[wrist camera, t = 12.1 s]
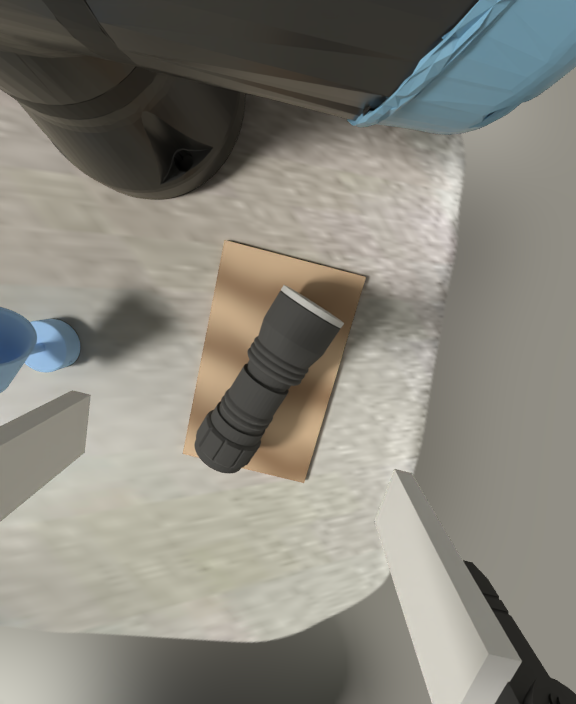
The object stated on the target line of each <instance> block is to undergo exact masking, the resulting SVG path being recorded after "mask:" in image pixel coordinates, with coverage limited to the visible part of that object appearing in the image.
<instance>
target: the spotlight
mask: <svg viewBox="0 0 576 704" xmlns="http://www.w3.org/2000/svg"><path fill="white" fill-rule="evenodd" d="M79 354H80V341H79V338H78V335H77V334H76V332H75V331H74V329H73V328H72V327H71V326H70V325H68V324H67V323H65V322H63V321H61V320H57V319H45V320H39V321H32V322H29V321H28V320H27V319H26V318H24V317H23V316H21V315H20V314H18V313H16V312H14V311H11V310H9V309H6V308H2V307H0V393H1V392H3V391H4V390H5V389H6V388H7V387H8V386H9V384H10V383H11V381H12V380H13V378H14V377H15V376H16V374H17V373H18V371H19V370H20V368H21V367H22V365H23V364H24V363H25V364H26V365H27V366H29V367H30V368H32V369H34V370H36V371H40V372H53V371H56V370H58V369H61V368H64V367H67V366H69V365H71V364H73V363H74V362H75V361H76V360H77V358H78V356H79Z"/></svg>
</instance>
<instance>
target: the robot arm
mask: <svg viewBox="0 0 576 704" xmlns="http://www.w3.org/2000/svg"><path fill="white" fill-rule="evenodd" d="M575 67H576V0H0V89H1V90H2V91H4V92H5V93H7V94H8V95H10V96H11V97H13V98H14V99H16V100H17V101H18V102H19V104H20V105H21V106H22V107H23V108H24V110H25V111H26V112H27V113H28V114H29V116H30V117H31V118H32V119H33V120H34V122H35V123H36V124H37V125H38V126H39V127H40V129H41V130H42V131H43V132H44V133H45V134H46V135H47V136H48V138H49V139H50V140H51V141H52V143H53V144H54V145H55V147H56V148H57V149H58V150H59V151H60V152H61V153H62V154H63V155H64V156H65V157H66V158H67V159H68V160H69V161H70V162H71V163H72V164H73V165H74V166H76V167H77V168H78V169H79V170H81V171H82V172H83V173H85V174H86V175H88V176H89V177H91V178H93V179H94V180H96V181H98V182H100V183H102V184H104V185H106V186H108V187H109V188H111V189H113V190H116V191H118V192H120V193H123V194H125V195H129V196H132V197H136V198H142V199H167V198H172V197H176V196H180V195H182V194H185V193H187V192H190V191H192V190H194V189H195V188H197V187H199V186H200V185H202V184H203V183H205V182H206V181H207V180H208V179H210V178H211V177H212V176H213V175H214V174H215V173H216V172H217V171H218V169H219V168H220V167H221V166H222V165H223V163H224V162H225V160H226V159H227V157H228V156H229V154H230V152H231V151H232V149H233V147H234V144H235V142H236V140H237V137H238V135H239V132H240V128H241V125H242V120H243V115H244V109H245V93H247V94H252V95H256V96H260V97H265V98H269V99H272V100H276V101H280V102H284V103H288V104H292V105H296V106H300V107H304V108H308V109H311V110H315V111H319V112H323V113H327V114H331V115H335V116H339V117H343V118H347V121H348V122H350V123H351V124H352V125H354V126H357V127H367V126H371V125H375V124H379V125H386V126H393V127H400V128H407V129H413V130H418V131H423V132H429V133H434V134H445V135H451V134H461V133H465V132H469V131H473V130H476V129H479V128H482V127H484V126H486V125H488V124H490V123H492V122H494V121H496V120H497V119H500V118H501V117H503V116H505V115H507V114H508V113H510V112H511V111H512V110H514V109H515V108H516V107H517V106H519V105H520V104H521V103H522V102H526V101H529V100H531V99H533V98H535V97H537V96H538V95H540V94H541V93H542V92H544V91H545V90H547V89H548V88H549V87H551V86H552V85H553V84H554V83H556V82H557V81H558V80H560V79H561V78H562V77H563V76H565V75H566V74H567V73H568V72H570V71H571V70H572V69H574V68H575ZM90 396H91V395H89V394H85V393H81V392H76V391H70V392H68V393H66V394H64V395H62V396H60V397H58V398H56V399H54V400H52V401H50V402H48V403H46V404H44V405H42V406H40V407H38V408H36V409H34V410H32V411H30V412H28V413H26V414H24V415H22V416H20V417H18V418H16V419H14V420H12V421H10V422H8V423H6V424H4V425H2V426H0V521H2V520H3V519H4V518H5V517H6V516H8V515H9V514H10V513H11V512H13V511H14V510H15V509H16V508H17V507H19V506H20V505H21V504H22V503H24V502H25V501H26V500H27V499H28V498H30V497H31V496H32V495H33V494H35V493H36V492H37V491H38V490H39V489H41V488H42V487H43V486H44V485H46V484H47V483H48V482H49V481H50V480H52V479H53V478H54V477H55V476H57V475H58V474H59V473H60V472H61V471H63V470H64V469H65V468H66V467H67V466H69V465H70V464H71V463H72V462H74V461H75V460H76V459H77V458H78V457H80V456H81V455H82V454H83V453H85V444H86V434H87V424H88V415H89V405H90ZM374 522H375V525H376V528H377V531H378V534H379V537H380V541H381V544H382V547H383V550H384V553H385V556H386V560H387V563H388V566H389V569H390V572H391V575H392V578H393V582H394V585H395V588H396V591H397V594H398V597H399V601H400V603H401V607H402V610H403V613H404V616H405V619H406V623H407V626H408V629H409V632H410V635H411V638H412V642H413V645H414V648H415V651H416V654H417V657H418V660H419V664H420V667H421V670H422V673H423V676H424V679H425V683H426V686H427V689H428V692H429V695H430V698H431V701H432V704H576V694H575V693H574V692H573V691H571V690H570V689H569V688H568V687H566V686H565V685H563V684H561V683H560V682H558V681H557V680H555V679H552V678H550V677H549V675H548V673H547V672H546V670H545V669H544V667H543V666H542V664H541V662H540V661H539V659H538V658H537V656H536V654H535V653H534V651H533V650H532V648H531V647H530V645H529V643H528V642H527V640H526V639H525V637H524V636H523V634H522V633H521V631H520V629H519V628H518V626H517V625H516V623H515V621H514V620H513V618H512V617H511V616H510V615H509V614H508V610H507V609H506V607H505V606H504V604H503V602H502V601H501V600H499V596H498V595H497V593H496V591H495V590H494V588H493V587H492V585H491V583H490V582H489V580H488V579H487V578H486V577H485V576H484V575H483V573H482V572H481V571H480V570H479V569H478V568H477V567H476V566H475V565H474V564H473V563H472V562H468V561H464V560H462V558H461V556H460V555H459V553H458V551H457V550H456V548H455V546H454V544H453V543H452V542H451V539H450V538H449V536H448V534H447V533H446V531H445V529H444V528H443V526H442V524H441V522H440V521H439V519H438V517H437V515H436V514H435V512H434V510H433V509H432V507H431V505H430V504H429V502H428V500H427V498H426V497H425V495H424V493H423V492H422V490H421V488H420V487H419V485H418V483H417V481H416V480H415V478H414V476H413V475H412V473H409V472H405V471H401V470H397V469H394V472H393V474H392V477H391V479H390V482H389V485H388V487H387V490H386V492H385V495H384V498H383V500H382V503H381V506H380V508H379V511H378V513H377V516H376V519H375V521H374Z"/></svg>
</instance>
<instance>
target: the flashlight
mask: <svg viewBox="0 0 576 704" xmlns="http://www.w3.org/2000/svg"><path fill="white" fill-rule="evenodd" d="M343 325H344V323H343V322H342V321H341V320H340V319H338V318H337V317H335V316H334V315H332V314H331V313H329V312H328V311H326V310H325V309H323V308H322V307H320V306H319V305H317V304H316V303H314V302H312V301H311V300H309V299H308V298H306V297H305V296H303V295H301V294H300V293H298V292H296V291H295V290H293V289H291V288H290V287H288V286H286V285H283V287H282V288H281V291H280V292H279V293H278V295H277V297H276V298H275V300H274V302H273V303H272V305H271V307H270V308H269V310H268V312H267V313H266V315H265V317H264V319H263V322H262V325H261V329H260V332H259V335H258V336H257V337H256V338H255V339H254V342H253V343H252V344H251V347H250V348H249V349H248V351H247V353H248V357H249V361H248V364H245V365H244V366H243V368H242V369H241V371H240V373H239V374H238V376H237V378H236V379H235V381H234V382H233V384H232V386H231V387H230V388H229V389H228V390H227V391H226V392H225V395H224V396H223V397H222V399H221V401H220V402H219V403H218V404H217V406H216V407H215V409H214V410H211V411H210V412H209V413H208V414H207V415H206V417H205V418H204V420H203V422H202V423H201V425H200V427H199V428H198V430H197V434H196V440H195V444H194V446H195V451H196V453H197V455H198V456H199V458H200V459H201V460H202V461H203V462H204V463H205V464H206V465H207V466H209V467H210V468H212V469H214V470H216V471H219V472H222V473H235V472H237V471H239V470H240V469H241V468H242V467H244V466H245V465H248V463H249V462H250V460H251V459H252V457H253V456H254V454H255V453H256V451H257V450H258V449H259V447H260V445H261V438H262V436H263V434H264V433H265V429H266V428H268V426H269V423H271V422H272V420H273V415H274V414H275V412H276V411H277V409H278V408H279V406H280V405H281V403H282V402H283V400H284V399H285V397H286V396H287V394H288V392H289V390H288V389H289V388H290V387H291V386H296V385H299V384H300V383H301V381H302V379H304V377H305V374H307V373H308V371H309V367H310V366H312V365H313V364H314V363H315V362H316V361H317V360H318V359H319V358H320V357H321V356H323V354H324V353H325V351H326V350H327V348H328V347H329V345H330V344H331V342H332V341H333V339H334V338H335V336H336V335H337V333H338V332H339V330H340V328H342V326H343Z"/></svg>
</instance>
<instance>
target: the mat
mask: <svg viewBox="0 0 576 704" xmlns="http://www.w3.org/2000/svg"><path fill="white" fill-rule="evenodd" d="M365 279H366V277H364V276H360V275H356V274H352V273H349V272H345V271H341V270H337V269H333V268H330V267H326V266H322V265H318V264H314V263H310V262H307V261H303V260H299V259H295V258H291V257H288V256H284V255H280V254H276V253H272V252H268V251H265V250H261V249H257V248H253V247H249V246H246V245H242V244H238V243H234V242H230V241H226V240H224V246H223V251H222V256H221V261H220V266H219V271H218V276H217V281H216V286H215V292H214V297H213V302H212V307H211V312H210V317H209V322H208V327H207V332H206V338H205V343H204V348H203V353H202V358H201V363H200V368H199V373H198V378H197V384H196V389H195V394H194V399H193V404H192V409H191V414H190V419H189V424H188V430H187V435H186V440H185V445H184V450H183V454H186V455H190V456H194V457H198V458H199V456H198V455H197V453H196V451H195V446H194V444H195V440H196V434H197V430H198V428H199V427H200V425H201V423H202V422H203V420H204V418H205V417H206V415H207V414H208V413H209V412H210V411H211V410H214V409H215V407H216V406H217V404H218V403H219V402H220V401H221V399H222V397H223V396H224V395H225V392H226V391H227V390H228V389H229V388H230V387H231V386H232V384H233V382H234V381H235V379H236V378H237V376H238V374H239V373H240V371H241V369H242V368H243V366H244V365H245V364H248V361H249V357H248V353H247V351H248V349H249V348H250V347H251V344H252V343H253V342H254V339H255V338H256V337H257V336H258V335H259V332H260V329H261V325H262V322H263V319H264V317H265V315H266V313H267V312H268V310H269V308H270V307H271V305H272V303H273V302H274V300H275V298H276V297H277V295H278V293H279V292H280V291H281V288H282V287H283V285H286V286H288V287H290V288H291V289H293V290H295V291H296V292H298V293H300V294H301V295H303V296H305V297H306V298H308V299H309V300H311V301H312V302H314V303H316V304H317V305H319V306H320V307H322V308H323V309H325V310H326V311H328V312H329V313H331V314H332V315H334V316H335V317H337V318H338V319H340V320H341V321H342V322H343V323H344V325H343V326H342V328H340V330H339V332H338V333H337V335H336V336H335V338H334V339H333V341H332V342H331V344H330V345H329V347H328V348H327V350H326V351H325V353H324V354H323V356H321V357H320V358H319V359H318V360H317V361H316V362H315V363H314V364H313V365H312V366H310V367H309V371H308V373H307V374H305V377H304V379H302V381H301V383H300V384H299V385H296V386H291V387H290V388H289V389H288V390H289V392H288V394H287V396H286V397H285V399H284V400H283V402H282V403H281V405H280V406H279V408H278V409H277V411H276V412H275V414H274V415H273V420H272V422H271V423H269V426H268V428H266V429H265V433H264V434H263V436H262V438H261V445H260V447H259V449H258V450H257V451H256V453H255V454H254V456H253V457H252V459H251V460H250V462H249V463H248V465H245V466H244V467H242V468H244V469H248V470H252V471H256V472H261V473H265V474H269V475H273V476H277V477H281V478H286V479H290V480H294V481H298V482H302V483H304V481H305V478H306V474H307V471H308V468H309V465H310V461H311V458H312V455H313V451H314V448H315V445H316V441H317V438H318V435H319V431H320V428H321V425H322V421H323V418H324V415H325V411H326V408H327V405H328V401H329V398H330V395H331V391H332V388H333V385H334V381H335V378H336V375H337V372H338V368H339V365H340V362H341V358H342V355H343V352H344V348H345V345H346V342H347V338H348V335H349V332H350V328H351V325H352V322H353V318H354V315H355V312H356V308H357V305H358V302H359V298H360V295H361V292H362V288H363V285H364V282H365Z"/></svg>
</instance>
